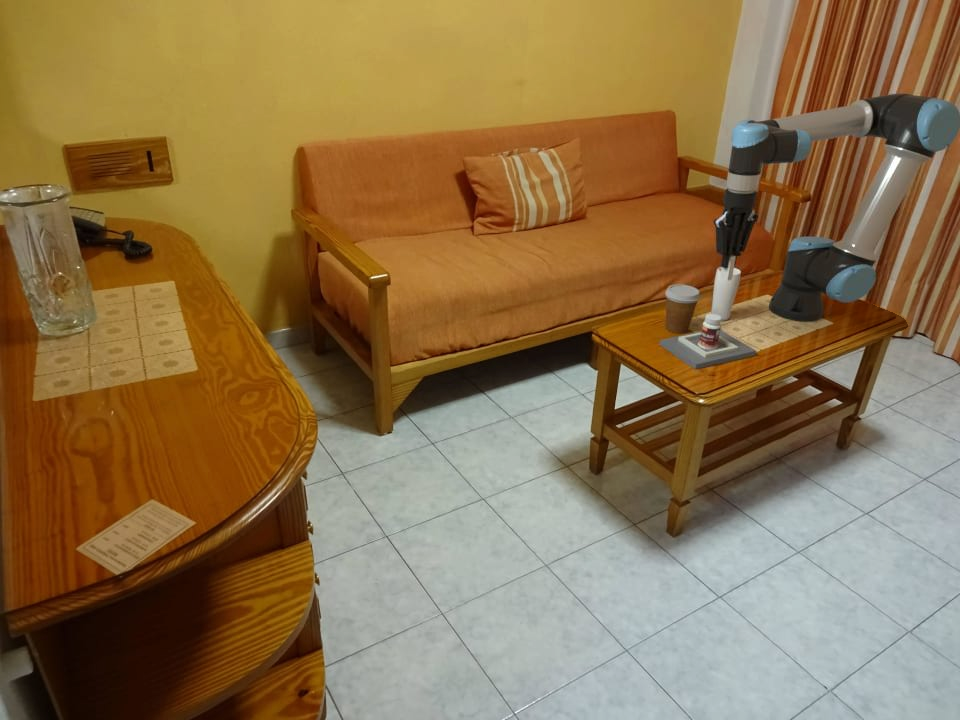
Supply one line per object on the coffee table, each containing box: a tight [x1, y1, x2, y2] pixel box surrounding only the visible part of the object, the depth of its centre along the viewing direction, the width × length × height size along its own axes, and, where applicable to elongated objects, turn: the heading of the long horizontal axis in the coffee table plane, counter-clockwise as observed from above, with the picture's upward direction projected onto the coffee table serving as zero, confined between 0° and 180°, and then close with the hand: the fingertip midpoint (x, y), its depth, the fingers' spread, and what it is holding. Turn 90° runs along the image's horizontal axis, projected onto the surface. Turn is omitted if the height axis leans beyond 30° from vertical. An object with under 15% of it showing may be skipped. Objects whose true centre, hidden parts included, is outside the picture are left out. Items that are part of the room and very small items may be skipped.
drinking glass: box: [710, 266, 742, 322], centre depth 199 cm, size 7×7×15 cm
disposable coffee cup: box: [664, 284, 701, 334], centre depth 193 cm, size 10×10×12 cm
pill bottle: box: [699, 313, 722, 349], centre depth 181 cm, size 5×5×8 cm
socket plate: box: [659, 330, 757, 370], centre depth 183 cm, size 20×15×2 cm
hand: (725, 278), depth 180 cm, fingers closed
